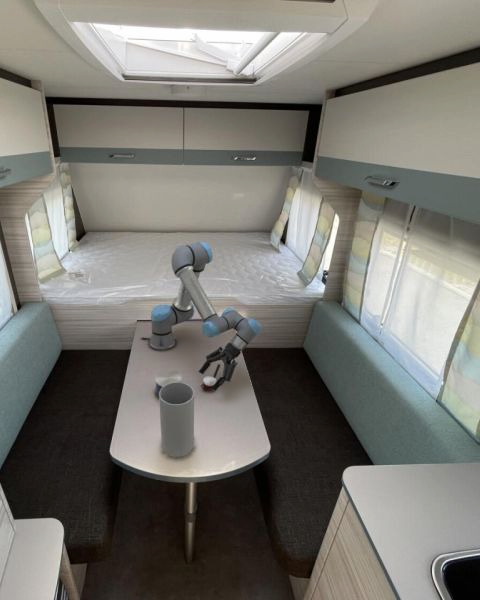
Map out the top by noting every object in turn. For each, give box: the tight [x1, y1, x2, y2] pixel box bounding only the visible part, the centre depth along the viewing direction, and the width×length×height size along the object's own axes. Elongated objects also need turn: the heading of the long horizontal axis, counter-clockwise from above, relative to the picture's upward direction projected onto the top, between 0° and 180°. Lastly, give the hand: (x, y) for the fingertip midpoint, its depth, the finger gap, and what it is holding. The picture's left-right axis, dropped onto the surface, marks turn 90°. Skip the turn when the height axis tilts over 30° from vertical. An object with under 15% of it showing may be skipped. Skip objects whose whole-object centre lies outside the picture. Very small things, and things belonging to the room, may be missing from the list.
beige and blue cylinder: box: [154, 369, 183, 398], centre depth 153 cm, size 12×12×8 cm
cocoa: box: [200, 363, 221, 392], centre depth 155 cm, size 10×6×12 cm, turn 96°
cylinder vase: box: [158, 381, 195, 458], centre depth 122 cm, size 12×12×25 cm
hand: (206, 380), depth 155 cm, fingers open, 13 cm apart
